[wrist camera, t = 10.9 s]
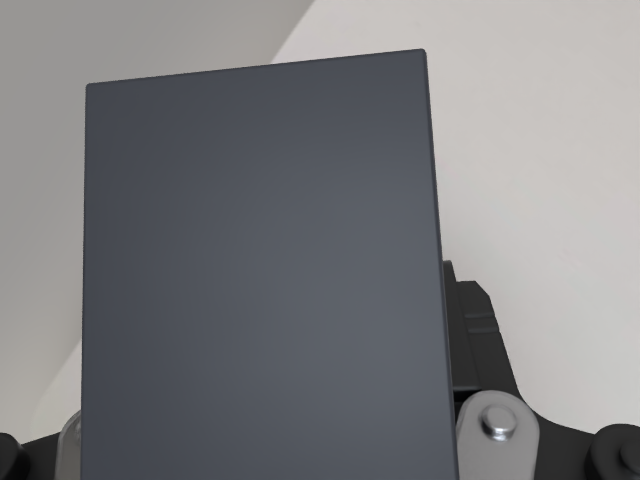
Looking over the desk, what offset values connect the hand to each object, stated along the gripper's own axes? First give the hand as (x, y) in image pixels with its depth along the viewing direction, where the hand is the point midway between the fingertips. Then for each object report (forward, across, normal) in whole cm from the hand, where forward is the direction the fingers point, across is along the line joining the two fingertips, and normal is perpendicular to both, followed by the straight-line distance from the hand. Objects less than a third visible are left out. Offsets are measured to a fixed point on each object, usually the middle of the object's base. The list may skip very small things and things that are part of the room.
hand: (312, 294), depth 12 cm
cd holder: (+2, 0, +4) cm, 5 cm away
